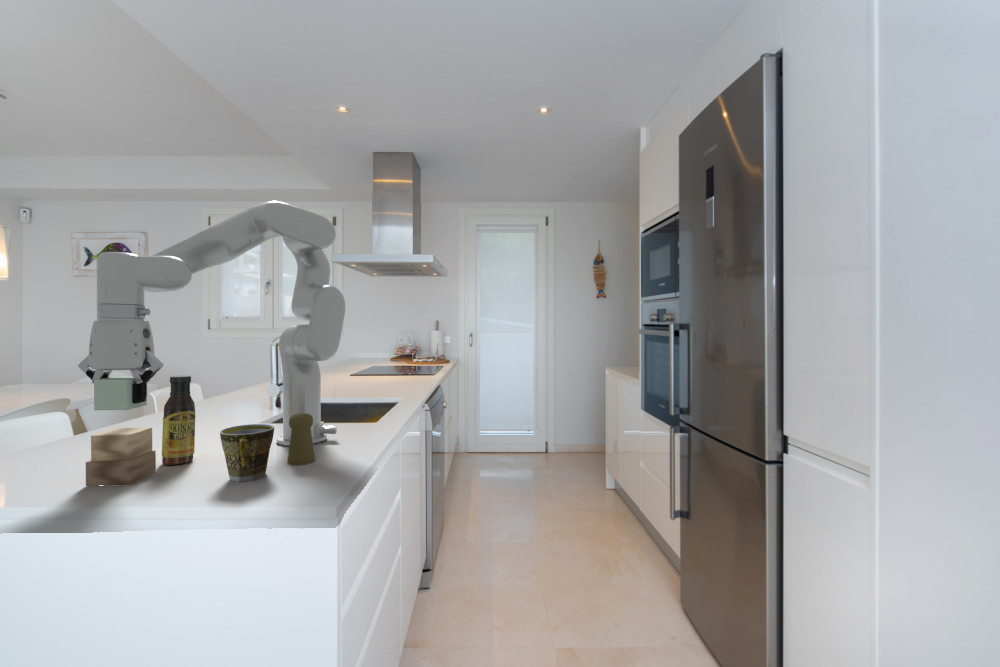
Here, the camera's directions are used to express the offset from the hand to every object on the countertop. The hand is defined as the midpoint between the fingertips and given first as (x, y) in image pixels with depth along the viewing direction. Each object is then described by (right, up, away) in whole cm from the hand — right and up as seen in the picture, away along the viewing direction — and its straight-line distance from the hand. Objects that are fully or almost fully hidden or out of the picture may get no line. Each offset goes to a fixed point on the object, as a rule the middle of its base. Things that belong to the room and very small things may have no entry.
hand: (121, 401), depth 96 cm
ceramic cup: (+25, -16, +1) cm, 30 cm away
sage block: (0, -1, 0) cm, 1 cm away
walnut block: (0, -16, 0) cm, 16 cm away
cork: (+31, -16, +13) cm, 37 cm away
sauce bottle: (+3, -16, +12) cm, 20 cm away
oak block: (0, -11, +1) cm, 11 cm away
